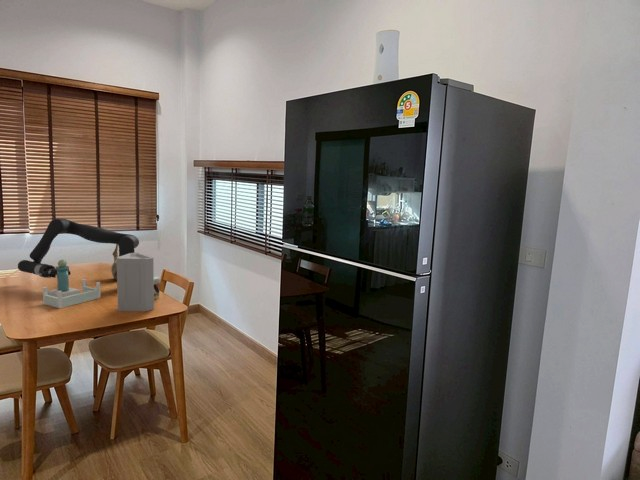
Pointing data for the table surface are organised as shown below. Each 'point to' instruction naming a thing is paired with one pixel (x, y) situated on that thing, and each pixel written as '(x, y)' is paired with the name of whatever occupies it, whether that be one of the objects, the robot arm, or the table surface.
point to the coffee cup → (156, 287)
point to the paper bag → (135, 282)
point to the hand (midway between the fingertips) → (62, 274)
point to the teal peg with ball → (62, 276)
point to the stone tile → (64, 294)
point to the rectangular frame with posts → (72, 296)
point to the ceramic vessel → (115, 263)
